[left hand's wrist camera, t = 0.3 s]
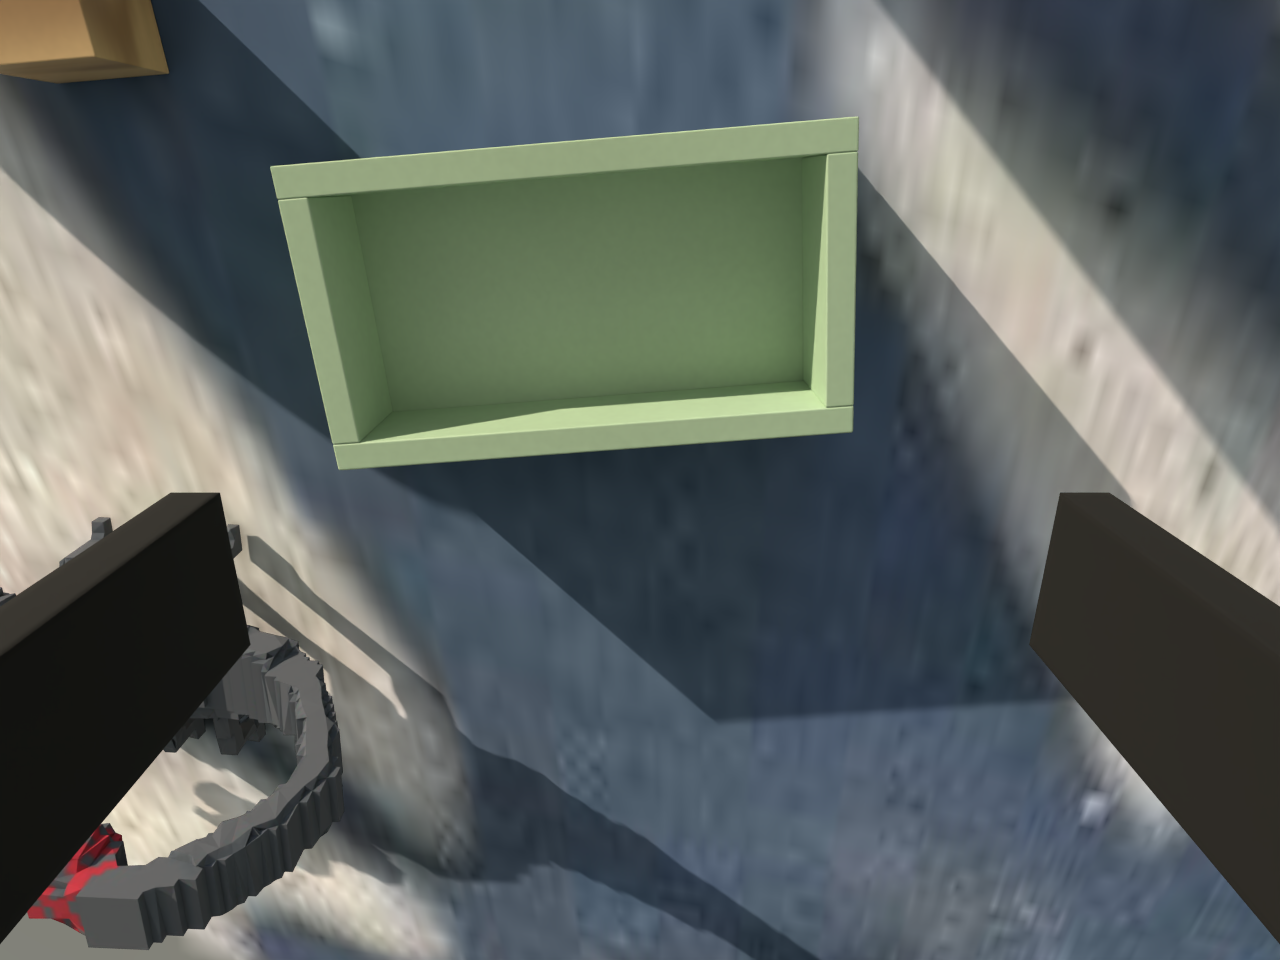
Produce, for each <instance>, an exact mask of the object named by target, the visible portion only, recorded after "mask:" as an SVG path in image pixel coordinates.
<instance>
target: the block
mask: <svg viewBox="0 0 1280 960" xmlns="http://www.w3.org/2000/svg"><path fill="white" fill-rule="evenodd" d="M168 73H169V70H168V66H167V62H166V58H165V55H164V51H163V47H162V43H161V39H160V35H159V31H158V27H157V23H156V20H155V16H154V12H153V8H152V4H151V0H0V74H4V75H10V76H16V77H22V78H28V79H34V80H40V81H46V82H52V83H69V82H80V81H92V80H103V79H114V78H126V77H137V76H148V75H159V74H168Z"/></svg>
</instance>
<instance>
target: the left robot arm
mask: <svg viewBox="0 0 1280 960" xmlns="http://www.w3.org/2000/svg"><path fill="white" fill-rule="evenodd" d="M250 645H251V644H250V639H249V634H248V629H247V624H246V619H245V614H244V609H243V604H242V600H241V595H240V590H239V585H238V580H237V575H236V570H235V565H234V560H233V555H232V550H231V545H230V540H229V535H228V531H227V526H226V521H225V516H224V511H223V506H222V501H221V496H220V493H170V494H168V495H167V496H165V497H164V498H162V499H161V500H159V501H158V502H156V503H155V504H153V505H152V506H150V507H149V508H147V509H146V510H144V511H143V512H141V513H140V514H138V515H137V516H135V517H134V518H132V519H131V520H129V521H128V522H126V523H125V524H123V525H122V526H120V527H119V528H117V529H116V530H114V531H113V532H111V533H110V534H108V535H107V536H105V537H104V538H102V539H101V540H99V541H98V542H96V543H95V544H93V545H92V546H90V547H89V548H87V549H86V550H84V551H83V552H81V553H80V554H78V555H77V556H75V557H74V558H72V559H71V560H69V561H68V562H66V563H65V564H63V565H62V566H60V567H59V568H57V569H56V570H54V571H53V572H51V573H50V574H48V575H47V576H45V577H44V578H42V579H41V580H39V581H38V582H36V583H35V584H33V585H32V586H30V587H29V588H27V589H26V590H24V591H23V592H21V593H20V594H18V595H17V596H15V597H14V598H12V599H11V600H9V601H8V602H6V603H5V604H3V605H2V606H0V944H1V942H2V941H3V940H4V939H5V938H6V937H7V935H8V934H9V933H10V932H11V931H12V929H13V928H14V927H15V926H16V925H17V923H18V922H19V921H20V920H21V919H22V917H23V916H24V915H25V914H26V913H27V911H28V910H29V909H30V908H31V907H32V905H33V904H34V903H35V902H36V901H37V899H38V898H39V897H40V896H41V895H42V894H43V892H44V891H45V890H46V889H47V888H48V886H49V885H50V884H51V883H52V882H53V880H54V879H55V878H56V877H57V876H58V874H59V873H60V872H61V871H62V870H63V868H64V867H65V866H66V865H67V864H68V862H69V861H70V860H71V859H72V858H73V856H74V855H75V854H76V853H77V852H78V850H79V849H80V848H81V847H82V846H83V845H84V843H85V842H86V841H87V840H88V839H89V837H90V836H91V835H92V834H93V833H94V831H95V830H96V829H97V828H98V827H99V825H100V824H101V823H102V822H103V821H104V819H105V818H106V817H107V816H108V815H109V813H110V812H111V811H112V810H113V809H114V807H115V806H116V805H117V804H118V803H119V801H120V800H121V799H122V798H123V797H124V796H125V794H126V793H127V792H128V791H129V790H130V788H131V787H132V786H133V785H134V784H135V782H136V781H137V780H138V779H139V778H140V776H141V775H142V774H143V773H144V772H145V770H146V769H147V768H148V767H149V766H150V764H151V763H152V762H153V761H154V760H155V758H156V757H157V756H158V755H159V754H160V752H161V751H162V750H163V749H164V748H165V747H166V745H167V744H168V743H169V742H170V741H171V739H172V738H173V737H174V736H175V735H176V733H177V732H178V731H179V730H180V729H181V727H182V726H183V725H184V724H185V723H186V721H187V720H188V719H189V718H190V717H191V715H192V714H193V713H194V712H195V711H196V709H197V708H198V707H199V706H200V705H201V703H202V702H203V701H204V700H205V699H206V698H207V696H208V695H209V694H210V693H211V692H212V690H213V689H214V688H215V687H216V686H217V684H218V683H219V682H220V681H221V680H222V678H223V677H224V676H225V675H226V674H227V672H228V671H229V670H230V669H231V668H232V666H233V665H234V664H235V663H236V662H237V660H238V659H239V658H240V657H241V656H242V654H243V653H244V652H245V651H246V650H247V649H248V647H249V646H250ZM1029 645H1030V646H1031V647H1032V649H1033V650H1034V651H1035V652H1036V653H1037V654H1038V656H1039V657H1040V658H1041V659H1042V660H1043V662H1044V663H1045V664H1046V665H1047V666H1048V668H1049V669H1050V670H1051V671H1052V672H1053V674H1054V675H1055V676H1056V677H1057V678H1058V680H1059V681H1060V682H1061V683H1062V684H1063V686H1064V687H1065V688H1066V689H1067V690H1068V692H1069V693H1070V694H1071V695H1072V696H1073V698H1074V699H1075V700H1076V701H1077V702H1078V703H1079V705H1080V706H1081V707H1082V708H1083V709H1084V711H1085V712H1086V713H1087V714H1088V715H1089V717H1090V718H1091V719H1092V720H1093V721H1094V723H1095V724H1096V725H1097V726H1098V727H1099V729H1100V730H1101V731H1102V732H1103V733H1104V735H1105V736H1106V737H1107V738H1108V739H1109V741H1110V742H1111V743H1112V744H1113V745H1114V747H1115V748H1116V749H1117V750H1118V751H1119V752H1120V754H1121V755H1122V756H1123V757H1124V758H1125V760H1126V761H1127V762H1128V763H1129V764H1130V766H1131V767H1132V768H1133V769H1134V770H1135V772H1136V773H1137V774H1138V775H1139V776H1140V778H1141V779H1142V780H1143V781H1144V782H1145V784H1146V785H1147V786H1148V787H1149V788H1150V790H1151V791H1152V792H1153V793H1154V794H1155V796H1156V797H1157V798H1158V799H1159V800H1160V801H1161V803H1162V804H1163V805H1164V806H1165V807H1166V809H1167V810H1168V811H1169V812H1170V813H1171V815H1172V816H1173V817H1174V818H1175V819H1176V821H1177V822H1178V823H1179V824H1180V825H1181V827H1182V828H1183V829H1184V830H1185V831H1186V833H1187V834H1188V835H1189V836H1190V837H1191V839H1192V840H1193V841H1194V842H1195V843H1196V845H1197V846H1198V847H1199V848H1200V849H1201V850H1202V852H1203V853H1204V854H1205V855H1206V856H1207V858H1208V859H1209V860H1210V861H1211V862H1212V864H1213V865H1214V866H1215V867H1216V868H1217V870H1218V871H1219V872H1220V873H1221V874H1222V876H1223V877H1224V878H1225V879H1226V880H1227V882H1228V883H1229V884H1230V885H1231V886H1232V888H1233V889H1234V890H1235V891H1236V892H1237V894H1238V895H1239V896H1240V897H1241V898H1242V899H1243V901H1244V902H1245V903H1246V904H1247V905H1248V907H1249V908H1250V909H1251V910H1252V911H1253V913H1254V914H1255V915H1256V916H1257V917H1258V919H1259V920H1260V921H1261V922H1262V923H1263V925H1264V926H1265V927H1266V928H1267V929H1268V931H1269V932H1270V933H1271V934H1272V935H1273V937H1274V938H1275V939H1276V940H1277V941H1278V942H1279V944H1280V606H1278V605H1277V604H1275V603H1274V602H1272V601H1271V600H1269V599H1268V598H1266V597H1265V596H1263V595H1262V594H1260V593H1259V592H1257V591H1256V590H1254V589H1253V588H1251V587H1250V586H1248V585H1247V584H1245V583H1244V582H1242V581H1241V580H1239V579H1238V578H1236V577H1235V576H1233V575H1232V574H1230V573H1229V572H1227V571H1226V570H1224V569H1223V568H1221V567H1220V566H1218V565H1217V564H1215V563H1214V562H1212V561H1211V560H1209V559H1208V558H1206V557H1205V556H1203V555H1202V554H1200V553H1199V552H1197V551H1196V550H1194V549H1193V548H1191V547H1190V546H1188V545H1187V544H1185V543H1184V542H1182V541H1181V540H1179V539H1178V538H1176V537H1175V536H1173V535H1172V534H1170V533H1169V532H1167V531H1166V530H1164V529H1163V528H1161V527H1160V526H1158V525H1157V524H1155V523H1154V522H1152V521H1151V520H1149V519H1148V518H1146V517H1145V516H1143V515H1142V514H1140V513H1139V512H1137V511H1136V510H1134V509H1133V508H1131V507H1130V506H1128V505H1127V504H1125V503H1124V502H1122V501H1121V500H1119V499H1118V498H1116V497H1115V496H1113V495H1112V494H1110V493H1060V496H1059V501H1058V506H1057V511H1056V516H1055V521H1054V526H1053V531H1052V535H1051V540H1050V545H1049V550H1048V555H1047V560H1046V565H1045V570H1044V575H1043V580H1042V585H1041V590H1040V595H1039V599H1038V604H1037V609H1036V614H1035V619H1034V624H1033V629H1032V634H1031V639H1030V644H1029Z"/></svg>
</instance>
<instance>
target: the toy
mask: <svg viewBox="0 0 1280 960" xmlns="http://www.w3.org/2000/svg"><path fill="white" fill-rule="evenodd" d="M227 531H228V535H229V540H230V545H231V550H232V555H233V559H234V558H235V557H236V556H237V555H238V554H239V553H240V552H241V551H242V544H241V536H240V529H239V525H229V524H228V526H227ZM111 532H113V530H112V525H111V520H110V518H104V517H98V518H97V519H95V520H94V521H92V537H91V540H90V541H88V542H87V543H85V544H84V545H82V546H81V547H80V548H78V549H77V550H75V551H74V552H72V553H71V554H69V555H68V556H67V557H65V558H64V559H63V560H61V561H60V566H62V565H63V564H65V563H66V562H68V561H69V560H71V559H72V558H74V557H75V556H77V555H78V554H80V553H81V552H83V551H84V550H86V549H87V548H89V547H90V546H92V545H93V544H95V543H96V542H98V541H99V540H101V539H102V538H104V537H105V536H107V535H108V534H110V533H111ZM15 596H16V594H15V593H14V594H9V593H3V590H2V587H0V606H2V605H3V604H5V603H6V602H8V601H9V600H11V599H12V598H14V597H15ZM247 629H248V634H249V639H250V644H251V645H250V646H249V647H248V649H247V650H246V651H245V652H244V653H243V654H242V656H241V657H240V658H239V659H238V660H237V662H236V663H235V664H234V665H233V666H232V668H231V669H230V670H229V671H228V672H227V674H226V675H225V676H224V677H223V678H222V680H221V681H220V682H219V683H218V684H217V686H216V687H215V688H214V689H213V690H212V692H211V693H210V694H209V695H208V696H207V698H206V699H205V700H204V701H203V702H202V703H201V705H200V706H199V707H198V708H197V709H196V711H195V712H194V713H193V714H192V715H191V717H190V718H189V719H188V720H187V721H186V723H185V724H184V725H183V726H182V727H181V729H180V730H179V731H178V732H177V733H176V735H175V736H174V737H173V738H172V739H171V741H170V742H169V743H168V744H167V745H166V747H165V748H164V749H163V750H164V751H165V752H177V751H178V749H179V748H180V747H181V746H182V745H183V743H184V742H185V741H186V740H187V738H188V737H189V736H190V737H192V738H196V739H199V738H200V737H201V736H202V734H203V733H204V732H205V725H204V719H209V718H213V722H214V727H215V732H216V737H217V741H218V744H219V748H220V752H221V754H227V755H238V753H239V752H240V750H241V749H242V747H243V745H244V744H245V742H246V741H247V740H250V741H257V742H260V740H261V739H262V738H263V737H264V736H265V734H266V732H265V724H264V723H272V724H273V725H274V726H275V727H276V728H279V729H280V731H283V734H284V735H295V752H296V757H297V767H296V769H295V770H294V772H293V774H292V775H291V777H290V779H289V780H288V782H287V783H286V784H280V785H278V787H277V788H276V790H275V791H274V792H273V794H272V795H271V796H270V797H268V798H267V799H262V800H260V801H259V803H258V804H257V805H256V806H255V807H254V808H253V810H252V811H247V812H246V814H244V815H242V816H240V817H237V818H233V819H230V820H226V821H223V822H222V823H221V824H220V825H219V827H218V828H217V829H216V831H215V832H214V833H208V835H207V837H205V838H201V839H196V840H194V841H192V842H190V843H188V844H186V845H184V846H182V847H180V848H177V849H175V851H171V853H170V855H169V857H168V858H166V857H158V858H156V859H155V860H153V861H151V862H150V863H148V864H146V865H135V866H128V864H127V859H126V853H125V848H124V843H123V841H122V835H120V834H118V833H115V831H114V830H113V828H112V826H111V825H110V823H106V824H100V825H99V827H98V828H97V829H96V830H95V831H94V833H93V834H92V835H91V836H90V837H89V839H88V840H87V841H86V842H85V843H84V845H83V846H82V847H81V848H80V849H79V850H78V852H77V853H76V854H75V855H74V856H73V858H72V859H71V860H70V861H69V862H68V864H67V865H66V866H65V867H64V868H63V870H62V871H61V872H60V873H59V874H58V876H57V877H56V878H55V879H54V880H53V882H52V883H51V884H50V885H49V886H48V888H47V889H46V890H45V891H44V892H43V894H42V895H41V896H40V897H39V898H38V899H37V901H36V902H35V903H34V904H33V905H32V907H31V908H30V909H29V910H28V911H27V913H28V916H29V918H51V919H54V920H56V921H59V922H61V923H64V924H66V925H68V926H69V927H71V928H73V929H74V930H76V931H78V932H79V933H81V934H83V935H85V936H86V939H87V943H88V947H93V948H115V949H138V950H149V949H150V947H151V945H152V944H153V942H157V943H162V942H163V940H164V939H165V937H166V935H172V936H184V934H185V932H186V931H187V929H205V928H206V926H207V924H208V922H209V921H210V919H211V917H213V916H221V915H223V914H225V913H227V912H229V911H230V910H232V909H233V908H234V907H236V906H237V905H239V904H242V903H245V901H246V899H247V897H248V896H257V895H258V894H259V892H260V891H261V890H262V889H263V888H264V887H266V886H267V885H269V884H271V883H272V882H273V881H275V880H277V879H280V878H282V876H283V874H284V872H293V870H294V868H295V866H296V864H297V862H298V860H299V858H300V856H301V854H302V852H303V850H304V849H311V848H313V846H314V845H315V843H316V842H317V841H318V839H319V838H320V837H321V836H323V835H324V834H325V833H327V832H328V830H329V828H330V826H331V824H332V822H340V819H341V817H342V815H343V813H344V802H343V791H342V779H341V775H342V773H343V767H342V756H341V744H340V733H339V729H338V724H337V721H336V713H335V712H334V704H333V703H332V696H328V692H327V691H326V684H325V683H324V674H323V665H319V661H310V658H309V657H306V653H303V652H301V651H300V650H299V644H298V641H295V640H292V639H289V638H287V637H282V636H277V635H273V634H268V633H264V632H260V631H259V628H257V627H253V626H250V625H247ZM244 715H249V717H248V718H247V719H245V720H244V721H243V722H242V723H241V724H240V722H239V719H240V718H242V717H243V716H244Z"/></svg>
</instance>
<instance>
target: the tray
mask: <svg viewBox="0 0 1280 960" xmlns="http://www.w3.org/2000/svg"><path fill="white" fill-rule="evenodd" d="M858 138H859V117H847V118H835V119H823V120H812V121H800V122H788V123H776V124H765V125H753V126H741V127H729V128H717V129H706V130H694V131H682V132H670V133H658V134H647V135H635V136H623V137H611V138H599V139H588V140H576V141H564V142H552V143H540V144H529V145H517V146H505V147H493V148H482V149H470V150H458V151H446V152H434V153H423V154H411V155H399V156H387V157H375V158H364V159H352V160H340V161H328V162H316V163H305V164H293V165H281V166H271V167H270V168H271V173H272V177H273V182H274V186H275V191H276V195H277V199H280V200H278V203H279V207H280V212H281V216H282V221H283V225H284V230H285V234H286V239H287V243H288V247H289V252H290V256H291V261H292V265H293V270H294V274H295V278H296V283H297V287H298V292H299V296H300V301H301V305H302V309H303V314H304V318H305V323H306V327H307V332H308V336H309V341H310V345H311V349H312V354H313V358H314V363H315V367H316V372H317V376H318V380H319V385H320V389H321V394H322V398H323V403H324V407H325V412H326V416H327V420H328V425H329V429H330V434H331V438H332V443H333V444H334V451H335V455H336V460H337V464H338V469H339V470H350V469H363V468H377V467H390V466H404V465H417V464H431V463H444V462H458V461H471V460H485V459H498V458H512V457H526V456H539V455H553V454H566V453H580V452H593V451H607V450H620V449H634V448H647V447H661V446H674V445H688V444H701V443H715V442H728V441H742V440H755V439H769V438H782V437H796V436H810V435H823V434H837V433H850V432H853V404H854V354H855V298H856V242H857V186H858V152H857V151H858Z"/></svg>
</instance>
